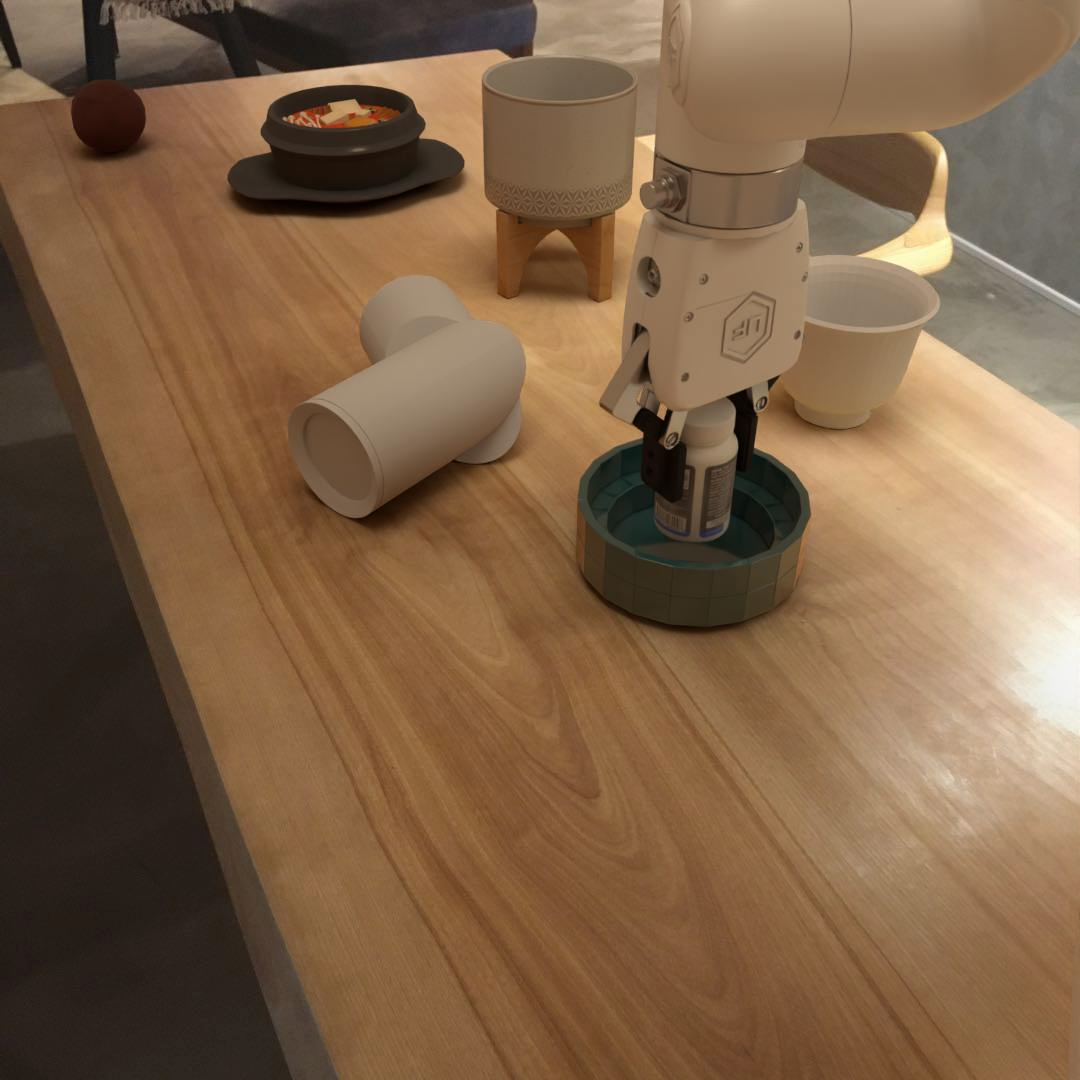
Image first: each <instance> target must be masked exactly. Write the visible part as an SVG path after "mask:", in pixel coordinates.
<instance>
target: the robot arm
mask: <svg viewBox="0 0 1080 1080" xmlns="http://www.w3.org/2000/svg"><path fill="white" fill-rule="evenodd" d="M662 6H663V7H662V20H661V22H662V23H661V35H660V38H661V39H660V51H659V52H660V53H659V54H660V55H659V68H658V82H657V83H658V85H657V86H658V87H657V99H656V101H657V103H656V117H655V118H656V119H655V134H654V150H653V151H654V152H653V163H652V165H653V166H652V178H651V180H650V181H646V182H644V183H642V184H641V185H640V188H639V200H640V202H641V204H642V206H643V207H644V208H645V209H646V210H648V211H646V212H644V213H643V215H642V219H641V223H640V226H639V230H638V233H637V237H636V242H635V247H634V251H633V254H632V260H631V265H630V271H629V274H628V275H629V276H628V282H627V287H626V288H627V289H626V295H625V303H624V312H623V320H622V335H621V363H620V365H619V366H618V367H617V369H616V371H615V373H614V375H613V376H612V378H611V380H610V381H609V383H608V385H607V387H606V388H605V390H604V392H603V393H602V395H601V397H600V398H599V401H598V405H599V407H600V408H601V409H602V410H603V411H605V412H606V413H608V414H609V415H610V416H612V417H614V419H617V420H619V421H621V422H624V423H625V424H628V425H630V426H633V427H635V428H636V429H637V430H639V431H640V432H641V433H642V438H643V445H642V460H641V479H642V481H643V482H644V483H645V484H646V485H647V486H649V487H650V488H651V489H653V490H654V491H655V492H657V493H658V494H659V495H661V496H662V497H663V498H665V499H666V500H667V501H669V502H670V503H675V502H677V501H679V500H681V497H682V496H683V487H684V476H685V466H686V455H687V447H686V445H685V444H684V443H683V442H681V441H680V437H681V434H682V430H683V427H684V424H685V420H686V417H687V414H688V411H689V410H692V409H695V408H698V407H700V406H703V405H706V404H708V403H711V402H713V401H716V400H719V399H721V398H724V397H726V398H727V399H729V400H730V401H731V402H732V403H733V404H734V406H735V410H736V415H735V426H734V431H733V432H734V434H735V435H736V437H737V441H738V453H737V461H736V470H737V471H739V472H742V473H743V472H745V471H748V470H750V469H751V467H752V459H753V452H754V448H755V443H756V437H757V429H758V421H759V415H758V414H760V413H762V412H764V411H765V410H766V408H767V407H768V405H769V403H770V395H769V394H770V393H769V392H770V390H771V389H772V388H773V386H774V385H775V383H777V381H778V379H780V375H781V374H782V373H784V372H786V371H787V370H789V369H790V368H791V367H792V366H793V365H794V364H795V363H796V361H797V359H798V357H799V354H800V350H801V346H802V345H803V344H804V341H805V335H804V333H803V332H804V324H805V315H806V305H807V293H808V278H809V257H810V234H809V233H810V232H809V220H808V213H807V206H806V203H805V201H804V200H802V199H801V198H799V196H800V190H801V189H800V188H801V182H802V175H803V168H804V161H805V152H806V147H807V141H808V140H816V139H820V138H834V137H835V138H836V137H848V136H849V137H850V136H851V137H852V136H868V135H881V134H882V135H883V134H901V133H903V134H904V133H920V132H931V131H935V130H936V131H937V130H942V129H947V128H948V129H949V128H952V127H955V126H960V125H962V124H964V123H967V122H970V121H972V120H974V119H977V118H978V117H980V116H983V115H985V114H986V113H988V112H990V111H992V110H994V109H995V108H997V107H998V106H1000V105H1002V104H1003V103H1005V102H1006V101H1007V100H1009V99H1010V98H1012V97H1013V96H1014V95H1016V94H1017V93H1019V92H1020V91H1022V90H1023V89H1024V88H1025V87H1027V86H1028V85H1030V84H1031V83H1033V82H1034V81H1035V80H1037V79H1038V78H1039V77H1041V76H1042V75H1043V74H1044V73H1046V72H1047V71H1049V70H1050V69H1051V68H1052V67H1054V66H1055V65H1056V64H1057V63H1058V62H1059V61H1061V60H1062V59H1063V58H1064V57H1065V56H1066V55H1067V53H1069V52H1070V50H1071V49H1072V48H1073V46H1074V45H1075V44H1076V43H1077V42H1078V40H1079V38H1080V0H663V5H662ZM640 393H641V395H640ZM639 395H640V398H639ZM638 398H639V401H638ZM661 404H662V405H663V406H665V407H666V411H665V415H664V417H663V418H661V416H659V415H658V414H659V410H660V406H661ZM1072 967H1073V968H1072V982H1071V984H1072V985H1071V1001H1070V1018H1069V1019H1070V1020H1069V1021H1070V1022H1069V1023H1070V1025H1069V1040H1068V1041H1069V1043H1068V1058H1067V1059H1068V1060H1067V1061H1068V1062H1067V1077H1066V1080H1080V909H1079V911H1078V921H1077V931H1076V939H1075V948H1074V958H1073V966H1072Z"/></svg>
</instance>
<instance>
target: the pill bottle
mask: <svg viewBox="0 0 1080 1080" xmlns="http://www.w3.org/2000/svg"><path fill="white" fill-rule="evenodd" d="M735 415H736V410H735V406H734V404H733V403H732V402H731V401H730V400H729V399H727V398H726V397H724V398H721V399H719V400H716V401H713V402H711V403H708V404H706V405H703V406H700V407H698V408H695V409H692V410H689V411H688V414H687V417H686V420H685V424H684V427H683V430H682V434H681V437H680V441H681V442H683V443H684V444H685V445H686V447H687V455H686V466H685V476H684V487H683V496H682V497H681V500H679V501H677V502H675V503H670V502H669V501H667V500H666V499H665V498H663V497H662V496H661V495H659V494H658V493H657V492H655V502H654V522H655V524H656V526H657V528H658V529H659V530H660V531H661V532H662V533H663V534H664V535H666V536H667V537H669V538H672V539H674V540H677V541H681V542H687V543H701V542H708V541H712V540H714V539H716V538H718V537H720V536H721V535H722V534H723V533H724V532H725V531H726V529H727V527H728V524H729V519H730V511H731V501H732V494H733V486H734V477H735V469H736V461H737V453H738V441H737V437H736V435H735V434H734V432H733V431H734V426H735Z"/></svg>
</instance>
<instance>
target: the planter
mask: <svg viewBox="0 0 1080 1080" xmlns="http://www.w3.org/2000/svg"><path fill="white" fill-rule="evenodd" d="M638 87H639V79H638V75H637V73H636V72H635V71H634V70H633V69H632V68H630V67H628V66H627V65H625V64H622V63H619V62H616V61H613V60H610V59H606V58H601V57H596V56H587V55H578V54H537V55H528V56H521V57H515V58H511V59H507V60H504V61H503V60H502V61H500V62H498V63H495V64H493V65H491V66H488V68H486V69H485V70H484V71H483V73H482V74H481V111H482V112H481V113H482V114H481V115H482V147H483V148H482V150H483V151H482V152H483V154H482V155H483V180H484V181H483V189H484V197H485V198H486V200H487V201H488V202H489V203H490V204H491V205H492V206H494V207H495V208H497V209H496V210H495V224H496V225H495V227H496V229H495V231H496V276H497V279H496V282H497V294H499V295H500V296H502V297H504V298H506V299H508V300H509V299H512V298H514V297H516V296H519V295H520V284H521V279H522V275H523V272H524V270H525V266H526V264H527V262H528V260H529V258H530V256H531V255H532V254H533V251H535V249H536V247H537V246H538V245H539V244H540V243H541V242H542V241H543V240H544V239H545V238H546V237H547V236H549V235H550V234H551V233H553V232H555V231H558V232H559V233H562V235H564V236H565V237H566V238H567V239H568V240H569V241H570V242H571V244H572V245H573V247H574V248H575V250H576V251H577V253H578V255H579V257H580V259H581V261H582V263H583V266H584V269H585V272H586V276H587V282H588V287H589V298H591V299H592V300H594V301H597V302H603V301H605V300H607V299H611V298H612V293H613V291H612V288H613V269H614V268H613V267H614V254H615V253H614V249H615V228H616V211H618V210H619V209H621V208H623V207H624V206H625V205H626V204H627V203H628V202H629V201H630V200H631V198H632V196H633V195H632V194H633V182H634V181H633V179H634V162H635V161H634V159H635V143H636V142H635V139H636V124H637V123H636V121H637V106H638V105H637V103H638Z"/></svg>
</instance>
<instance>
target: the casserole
mask: <svg viewBox="0 0 1080 1080" xmlns="http://www.w3.org/2000/svg"><path fill="white" fill-rule="evenodd" d="M426 125H427V123H426V120H425V118H424V117H423V116H422V115H421V114H419V111H418V109H417V107H416V104H415V102H414V100H413V99H412V98H411V97H410V96H409V95H407V94H405V93H404V92H401V91H398V90H396V89H392V88H388V87H383V86H375V85H367V84H335V85H323V86H315V87H310V88H305V89H301V90H296V91H294V92H290V93H288V94H285V95H283V96H281V97H279V98H277V99H276V100H274V101H272V103H271V104H269V107H268V109H267V113H266V118H265V121H264V122H263V123H262V125H261V128H260V130H259V131H260V136H261V137H262V139H263V140H264V142H266V143H267V144H268V145H269V149H270V151H269V152H265V153H261V154H255V155H252V156H248V157H243V158H242V159H239V160H238V161H237V162H235V163H234V165H232V166H231V167H230V169H229V170H228V173H227V182H228V184H229V186H230V188H232V189H233V190H235V191H236V192H237V193H238V194H241V195H243V196H245V197H247V198H251V199H255V200H272V201H274V200H275V201H277V200H279V201H280V200H281V201H282V200H285V201H286V200H289V201H290V200H291V201H294V200H295V201H306V202H317V203H324V204H336V205H337V204H338V205H339V204H340V205H344V204H345V205H347V204H348V205H349V204H359V203H361V204H362V203H367V202H373V201H377V200H381V199H384V198H388V197H392V196H397V195H399V194H403V193H405V192H407V191H411V190H414V189H416V188H418V187H421V186H424V185H428V184H434V183H438V182H442V181H446V180H448V179H452V178H453V177H456V176H457V175H459V174H461V173H462V171H463V170H464V168H465V161H466V160H465V159H464V158H465V157H464V156H463V154H462V153H461V152H460V151H458V150H457V149H456V148H454V146H451V145H449V144H447V143H446V142H443V141H441V140H438V139H435V138H434V139H433V138H423V137H421V135H422V134H423V133H424V131H425V130H426Z"/></svg>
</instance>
